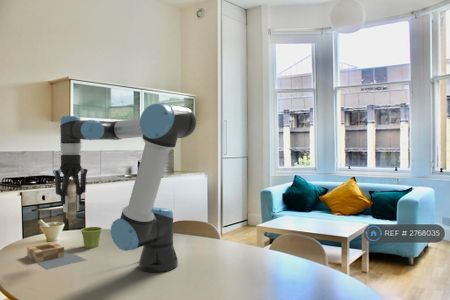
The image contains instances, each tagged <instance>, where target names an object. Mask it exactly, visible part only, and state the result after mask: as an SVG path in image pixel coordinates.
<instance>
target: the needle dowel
mask: <svg viewBox="0 0 450 300" xmlns="http://www.w3.org/2000/svg"><path fill="white" fill-rule="evenodd" d="M66 196H68V212H65V219H66V220H75V219H77V211H76V184H75V182H74V181H73V179H72V180H70V179H69V181H68V186H67V191H66Z"/></svg>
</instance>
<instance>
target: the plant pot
mask: <svg viewBox="0 0 450 300" xmlns="http://www.w3.org/2000/svg"><path fill="white" fill-rule="evenodd" d="M102 231H103V228H102V227H100V226H89V227H83V228H81V229H80V233H81V235H82V238H83V245H84V248H85V249H96V248H98V247H100V240H101V239H100V238H101V233H102Z"/></svg>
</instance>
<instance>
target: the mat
mask: <svg viewBox="0 0 450 300" xmlns="http://www.w3.org/2000/svg"><path fill="white" fill-rule="evenodd" d="M24 257H25V258H27V259H29V260H31V262H34V263H35V264H37V265H38V266H40V267H42V268H43V269H44V270H51V269H54V268H56V269H57V268H59V267H63V266H68V265H72V264H76V263H80V262H85V261H87V259H86V258H83V257H81V256H80V255H77V254H75V253H73V252H71V251H69V250H67V249H64V257H60V258H55V259H51V260H46V261H42V262H35V261H34V260H32V259H30V258H29V257H27V255H24Z"/></svg>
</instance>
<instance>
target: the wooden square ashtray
mask: <svg viewBox="0 0 450 300" xmlns="http://www.w3.org/2000/svg"><path fill="white" fill-rule="evenodd" d="M64 250H65V246H63V245H60V244H58V243H56V242H54V241H53V242H50V243H49V242H48V243H43V244H39V245H32V246H28V247H26V252H27V255H26V256H27V257H29V258H30V259H32V260H34V261H35V262H42V261H46V260H51V259H55V258H60V257H64ZM27 257H26V258H27ZM30 259H29V260H30ZM32 260H31V261H32ZM35 262H34V263H35Z"/></svg>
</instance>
